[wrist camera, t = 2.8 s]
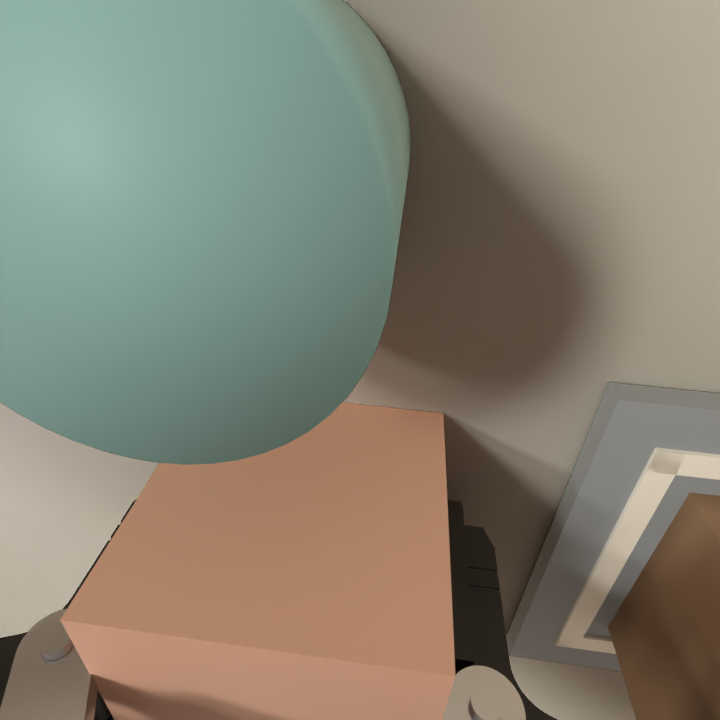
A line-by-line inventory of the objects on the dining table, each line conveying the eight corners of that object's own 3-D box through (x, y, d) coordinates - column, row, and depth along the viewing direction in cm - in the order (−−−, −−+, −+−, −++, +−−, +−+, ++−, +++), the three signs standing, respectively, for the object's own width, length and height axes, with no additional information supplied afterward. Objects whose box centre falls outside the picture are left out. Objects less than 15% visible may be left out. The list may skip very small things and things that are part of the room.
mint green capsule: (89, -44, 7) (-378, -162, 3) (428, -29, 7) (431, -142, 3) (152, 272, 10) (-46, 438, 6) (397, 294, 10) (374, 488, 5)
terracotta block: (207, 388, 11) (60, 619, 7) (443, 413, 11) (455, 676, 6) (231, 537, 14) (140, 767, 10) (417, 561, 14) (413, 812, 9)
